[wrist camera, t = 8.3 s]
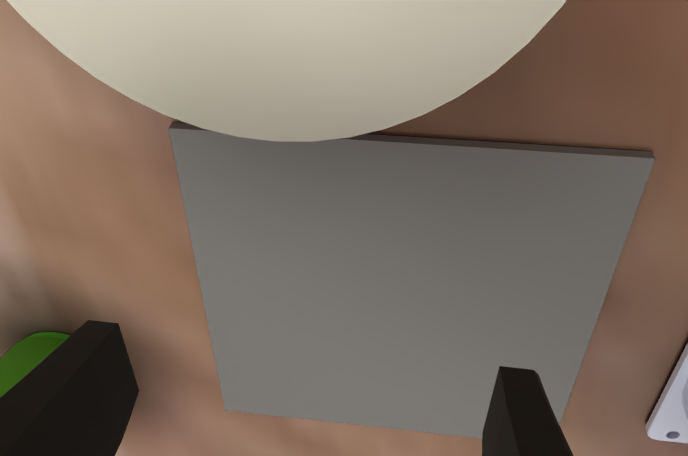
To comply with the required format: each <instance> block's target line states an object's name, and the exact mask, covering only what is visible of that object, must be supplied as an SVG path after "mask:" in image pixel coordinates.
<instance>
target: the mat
mask: <svg viewBox="0 0 688 456" xmlns="http://www.w3.org/2000/svg"><path fill="white" fill-rule="evenodd" d="M168 129H169V134H170V139H171V144H172V149H173V154H174V159H175V164H176V169H177V174H178V179H179V184H180V189H181V194H182V198H183V203H184V208H185V213H186V218H187V223H188V228H189V233H190V238H191V243H192V248H193V253H194V258H195V263H196V268H197V273H198V278H199V283H200V288H201V293H202V298H203V303H204V308H205V313H206V318H207V323H208V328H209V333H210V338H211V343H212V348H213V353H214V358H215V363H216V368H217V373H218V378H219V383H220V388H221V393H222V397H223V402H224V407H225V410H226V411H236V412H245V413H254V414H263V415H272V416H281V417H290V418H300V419H309V420H318V421H327V422H336V423H345V424H355V425H364V426H373V427H382V428H391V429H400V430H410V431H419V432H428V433H437V434H446V435H455V436H464V437H474V438H482V432H483V428H484V424H485V421H486V417H487V413H488V409H489V405H490V401H491V397H492V393H493V389H494V386H495V382H496V378H497V374H498V370H499V366H504V367H513V368H522V369H531V370H535V371H536V372H537V373H538V374H539V377H540V379H541V382H542V385H543V388H544V390H545V393H546V395H547V398H548V400H549V403H550V405H551V407H552V410H553V412H554V414H555V417H556V419H557V421H558V424H560V422H561V419H562V416H563V413H564V410H565V408H566V405H567V402H568V399H569V397H570V394H571V391H572V388H573V386H574V383H575V380H576V377H577V374H578V372H579V369H580V366H581V363H582V361H583V358H584V355H585V352H586V349H587V347H588V344H589V341H590V338H591V336H592V333H593V330H594V327H595V324H596V322H597V319H598V316H599V313H600V311H601V308H602V305H603V302H604V300H605V297H606V294H607V291H608V288H609V286H610V283H611V280H612V277H613V275H614V272H615V269H616V266H617V263H618V261H619V258H620V255H621V252H622V250H623V247H624V244H625V241H626V239H627V236H628V233H629V230H630V227H631V225H632V222H633V219H634V216H635V214H636V211H637V208H638V205H639V202H640V200H641V197H642V194H643V191H644V189H645V186H646V183H647V180H648V177H649V175H650V172H651V169H652V166H653V164H654V161H655V157H654V155H653V153H652V152H651V151H634V150H618V149H602V148H585V147H569V146H553V145H536V144H520V143H504V142H487V141H471V140H455V139H438V138H422V137H406V136H389V135H373V134H362V135H358V136H353V137H349V138H340V139H331V140H323V141H314V142H279V141H267V140H259V139H251V138H243V137H236V136H232V135H228V134H224V133H219V132H215V131H211V130H207V129H203V128H200V127H197V126H194V125H191V124H188V123H177V122H172V124H171V125H170V127H169V128H168Z"/></svg>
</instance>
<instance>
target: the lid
mask: <svg viewBox="0 0 688 456" xmlns="http://www.w3.org/2000/svg"><path fill="white" fill-rule="evenodd" d="M7 1H8V2H9V3H10V4H11V5H12V6H13V7H14V9H15V10H16V11H17V12H18V13H19V14H20V15H21V16H22V17H23V18H24V19H25V20H26V21H27V22H28V23H29V24H30V25H31V26H32V27H33V28H35V29H36V30H37V31H38V32H39V33H40V34H41V35H42V36H43V37H45V38H46V39H47V40H48V41H49V42H50V43H51V44H52V45H53V46H55V47H56V48H57V49H58V50H59V51H60V52H62V53H63V54H64V55H66V56H67V57H68V58H70V59H71V60H72V61H74V62H75V63H76V64H78V65H79V66H80V67H82V68H83V69H84V70H86V71H87V72H88V73H90V74H91V75H92V76H94V77H95V78H97V79H99V80H100V81H102V82H104V83H105V84H107V85H109V86H110V87H112V88H113V89H115V90H117V91H118V92H120V93H122V94H123V95H125V96H127V97H128V98H130V99H132V100H134V101H136V102H138V103H141V104H143V105H145V106H147V107H149V108H151V109H153V110H155V111H157V112H159V113H162V114H164V115H166V116H169V117H171V118H174V119H177V120H180V121H183V122H185V123H188V124H191V125H194V126H197V127H200V128H203V129H207V130H211V131H215V132H219V133H224V134H228V135H232V136H236V137H243V138H251V139H259V140H267V141H279V142H314V141H323V140H331V139H340V138H349V137H353V136H358V135H362V134H366V133H370V132H374V131H379V130H383V129H387V128H389V127H392V126H395V125H397V124H400V123H403V122H406V121H408V120H411V119H414V118H416V117H419V116H422V115H424V114H426V113H428V112H430V111H432V110H434V109H436V108H438V107H439V106H441V105H443V104H445V103H447V102H449V101H451V100H453V99H455V98H457V97H459V96H460V95H462V94H463V93H465V92H466V91H468V90H469V89H471V88H472V87H474V86H475V85H477V84H478V83H480V82H481V81H483V80H484V79H486V78H487V77H488V76H490V75H491V74H493V73H494V72H495V71H497V70H498V69H499V68H500V67H501V66H502V65H504V64H505V63H506V62H507V61H508V60H509V59H511V58H512V57H513V56H514V55H515V54H516V53H517V52H519V51H520V50H521V49H522V48H523V47H524V46H526V45H527V44H528V43H529V42H530V41H531V40H532V39H533V38H534V36H535V35H536V34H537V33H538V32H539V31H540V30H541V29H542V28H543V27H544V26H545V25H546V23H547V22H548V21H549V20H550V19H551V18H552V17H553V16H554V15H555V14H556V13H557V12H558V10H559V9H560V8H561V7H562V6H563V4H564V3H565V2H566V0H7Z"/></svg>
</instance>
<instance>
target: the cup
mask: <svg viewBox="0 0 688 456" xmlns="http://www.w3.org/2000/svg"><path fill="white" fill-rule="evenodd" d="M69 336H71V335H68V334H63V333H57V332H40V333H36V334H32V335H30V336H28V337H27V338H25V339H23V340H21V341H19V342H17V343H15V344H14V345H13V346H12V347H11V348H10V349H9V350H8V351H7V352H6V353H5V354H4V355H3V356H2V357H1V358H0V397H1V396H3V395H4V394H5V393H6V392H7V391H8V390H9V389H11V388H12V387H13V386H14V385H15V384H16V383H18V382H19V381H20V380H21V379H22V378H23V377H25V376H26V375H27V374H28V373H29V372H30V371H31V370H32V369H34V368H35V367H36V366H37V365H38V364H39V363H40V362H41V361H43V360H44V359H45V358H46V357H47V356H48V355H49V354H50V353H52V352H53V351H54V350H55V349H56V348H57V347H58V346H59V345H60V344H62V343H63V342H64V341H65V340H66V339H67V338H68V337H69Z"/></svg>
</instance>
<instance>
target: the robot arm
mask: <svg viewBox="0 0 688 456" xmlns="http://www.w3.org/2000/svg"><path fill="white" fill-rule="evenodd" d="M138 392H139V389H138V386H137V383H136V379H135V376H134V373H133V370H132V366H131V363H130V360H129V357H128V353H127V350H126V347H125V344H124V340H123V337H122V334H121V331H120V327H119V324H118V323H109V322H100V321H91V320H88V321H87V322H86V323H84V324H83V325H82V326H81V327H80V328H79V329H77V330H76V331H75V332H74V333H73V334H72V335H71V336H69V337H68V338H67V339H66V340H65V341H64V342H63V343H62V344H60V345H59V346H58V347H57V348H56V349H55V350H54V351H53V352H52V353H50V354H49V355H48V356H47V357H46V358H45V359H44V360H43V361H41V362H40V363H39V364H38V365H37V366H36V367H35V368H34V369H32V370H31V371H30V372H29V373H28V374H27V375H26V376H25V377H23V378H22V379H21V380H20V381H19V382H18V383H16V384H15V385H14V386H13V387H12V388H11V389H9V390H8V391H7V392H6V393H5V394H4V395H3V396H1V397H0V456H115V454H116V452H117V450H118V447H119V445H120V443H121V441H122V438H123V436H124V433H125V430H126V427H127V425H128V422H129V419H130V416H131V413H132V410H133V407H134V404H135V401H136V398H137V395H138ZM645 428H646V432H647V435H648V436H649V437H650V438H652V439H655V440H662V441H671V442H681V443H688V343H687V345H686V347H685V349H684V351H683V353H682V355H681V357H680V359H679V361H678V363H677V365H676V367H675V369H674V371H673V373H672V375H671V377H670V379H669V381H668V383H667V385H666V387H665V388H664V390H663V392H662V394H661V396H660V398H659V400H658V402H657V404H656V406H655V408H654V410H653V412H652V414H651V416H650V418H649V420H648V422H647V424H646V427H645ZM482 456H573V454H572V452H571V450H570V447H569V445H568V443H567V441H566V439H565V437H564V435H563V432H562V430H561V428H560V426H559V424H558V421H557V419H556V417H555V414H554V412H553V410H552V407H551V405H550V403H549V400H548V398H547V395H546V393H545V390H544V388H543V385H542V382H541V379H540V377H539V374H538V373H537V372H536V371H535V370H531V369H522V368H513V367H504V366H499V370H498V374H497V378H496V382H495V386H494V389H493V393H492V397H491V401H490V405H489V409H488V413H487V417H486V421H485V424H484V428H483V432H482Z"/></svg>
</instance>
